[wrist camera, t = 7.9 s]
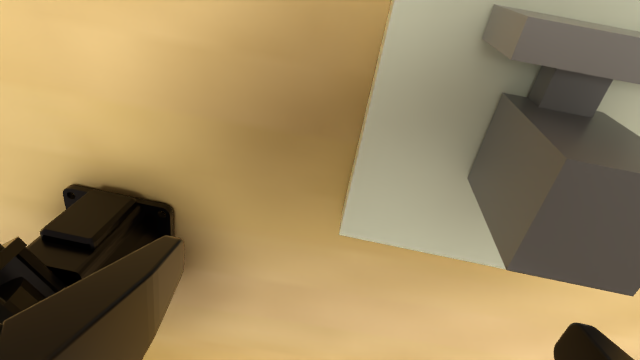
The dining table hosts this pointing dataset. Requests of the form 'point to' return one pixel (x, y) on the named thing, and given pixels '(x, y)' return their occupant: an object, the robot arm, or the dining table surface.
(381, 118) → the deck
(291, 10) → the dining table surface
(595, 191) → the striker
